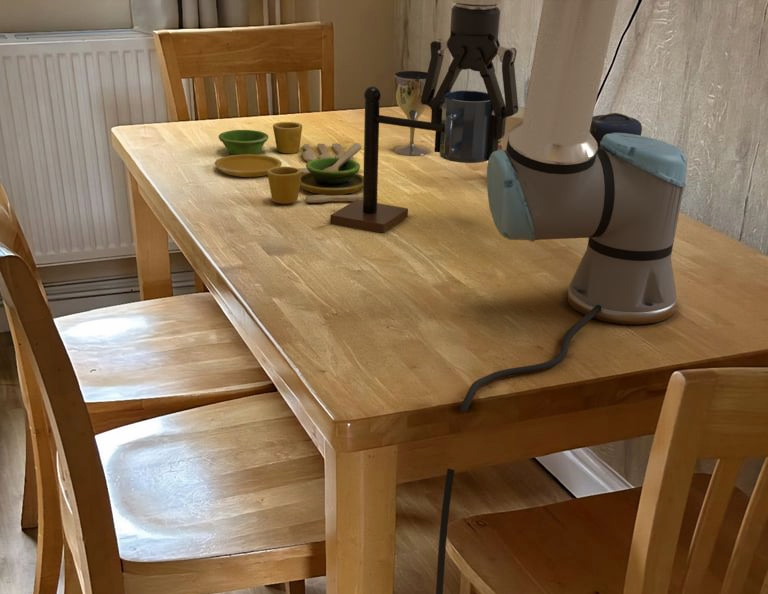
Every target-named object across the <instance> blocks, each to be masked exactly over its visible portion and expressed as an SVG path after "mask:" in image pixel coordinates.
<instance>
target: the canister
mask: <svg viewBox="0 0 768 594" xmlns="http://www.w3.org/2000/svg"><path fill="white" fill-rule="evenodd" d="M589 132H590V133H591V135H592V136H593V137H594V139H595V140H596V142H597V144H598V148H601V145H600V142H601V141H602V139H603V137H604V136H605V135H606V134H611V133H627V134H634V135H640V136H642V133H643V125H642V123H641V122H640V120H638V119H636V118H634V117H630V116H629V115H626V114H624V113H618V112H611V113H607V114H598V115H593V117H592V122H591V127H590V131H589Z"/></svg>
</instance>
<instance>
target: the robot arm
mask: <svg viewBox="0 0 768 594" xmlns="http://www.w3.org/2000/svg"><path fill="white" fill-rule="evenodd" d="M451 1H452V2H453V3H454V5H453V6H452V8H451V14H450V34H449V37H448V39H447V40H443V39H442V38H441V39H440V38H439V39H436V40H433V41H431V42H430V44H429V45H430V61H429V63H428V68H427V71H426V72H427V77H426V81H425V85H424V89H423V93H422V98H421V103H422V104H423V105H425V104H426V105H427V106H428V108H430V109H431V110H430V111H431V114H430V115H431V116H430V122H432V123H439V124H441V119H442V102H443V94H446V93H448V92H450V91H452V88H453V87H454V85H455V83H456V81H457V79H458V77H459V75H460V73H461V72H462V71H465V70H471V71H474V72H478V73H479V75H480V77H481V78H482V80H483V84H484V87H485V89H486V93H488V96H489V99H490V101H492V102H491V105H492V108H493V111H494V114H495V117H493V118H491V119H490V130H489V142H488V154H487V160H488V161H487V165H486V191H487V192H486V193H487V199H488V204H489V209H490V215H491V217H492V221H493V223H494V226H495V228H496V230H497V231H498V232H499V234H500V235H501V236H502V237H503V238H504V239H507V240H509V241H528V242H530V243H531V242H533V243H535V241H544V240H567V239H569V240H570V239H587V238H588V240H587V247H586V250H585V252H584V254H583V256H582V258H581V261H580V262H579V264H578V266H577V268H576V271H575V272H574V275H573V277H572V279H571V281H570V283H569V286H568V293H567V303H568V304H569V305H570V306H571V308H573V309H574V310H575V311H576V312H578V313H580V314H582V315H584V316H583V317H582V318H580V320H578V321H577V322H576V323H574V324H573V326H571V327H570V328H569V329H568V331H567V332H566V333H565V335H563V336H564V337H563V338H562V340H561V345H560V348H559V352H558V353H557V354H556V355H555V357H553V358H551V359H550V360H547V361H545V362H541V363H537V364H532V365H524V366H518V367H512V368H511V367H510V368H506V369H502V370H497V371H495V372H492V373H490V374H488V375H485V376H482V377H480V378H478V379H477V380H475V381H474V382H473V383H472V384H471V385H470V387H469V388H468V391H467V392H466V394H465V396H464V398H463V401H462V403H461V405H460V408H459V411H460V412H462V413H465V412H468V411H469V408H470V406H471V404H472V401H473V399H474V397H475V395H476V394H477V391H478V390H479V389H480V388H482V387H484V386H486V385H487V384H490V383H491V382H494V381H496V380H499V379H504V378H507V377H508V378H509V377H512V376H513V377H514V376H519V375H525V374H533V373H538V372H542V371H545V370H548V369H551V368H553V367H555V366H557V365H559V364H560V363H561V362H562V361H563V360H564V359H565V357H566V356H567V353H568V351H569V344H570V341H571V340H572V338H573V336H574V335H576V333H577V332H578V331H580V330H581V329H582V328H583V327H584V326H585V325H586V324H588V323H589V322H590V321H591V320H592V319H595V320H598V321H602V322H607V323H613V324H621V325H648V324H649V325H650V324H654V323H659V322H663V321H665V320H667V319H669V318H671V317H672V315H673V314H674V313H675V310H676V305H677V298H678V297H677V289H676V283H675V275H674V269H673V263H672V253H673V248H674V243H675V237H676V232H677V227H678V223H679V222H678V221H679V215H680V212H681V211H680V210H681V206H682V200H683V195H684V189H685V188H686V178H687V170H688V169H687V168H688V159H687V155H686V154H685V152H684V151H683V150H682V149H680V148H679V147H677V146H675V145H673V144H671V143H669V142H666V141H663V140H661V139H657V138H653V137H649V136H644V135H641V136H640V135H634V134H627V133H611V134H606V135H605V136H604V137H603V139H602V141H601V142H600V145H601V148H598V144H597V142H596V140H595V139H594V137H593V136H592V135H591V133H590V132H589V131H590V127H591V122H592V117H594V112H595V108H596V104H597V98H598V96H599V95H598V94H599V90H600V85H601V79H602V75H603V71H604V68H605V67H604V66H605V62H606V61H605V60H606V58H607V53H608V48H609V43H610V39H611V35H612V30H613V24H614V20H615V16H616V11H617V8H618V7H617V6H618V4H619V3H618V2H619V0H543V1H542V7H541V13H540V17H539V23H538V30H537V36H536V42H535V48H534V54H533V58H532V65H531V70H530V76H529V83H528V88H527V93H526V99H525V106H524V107H525V111H524V117H523V122H521V123H520V124H518V125H517V126H515V127H514V128H512V129H511V131H510V132H509V136H508V142H507V148H506V150H505V151H504V150H500V149H499V150H498V141H499V139H502V138H503V137H504V135H505V124H506V118H507V117H509V116H513V115H514V114H516V113H517V112H518V107H519V101H518V89H517V79H516V70H515V63H516V62H515V61H516V58H517V53H518V51H517V49H516V48H515V47H510V48H508V47H505V46H502V45H501V44H500V41H499V31H500V20H501V19H500V17H501V10H500V8H499V7H498V5H500V4H501V3H502V0H451ZM447 50H448V51H449V53H450V55H451V57H452V60H451V62H450V65H449V66H448V69H447V72H446V74H445V76H444V78H443V80H442V82H441V84H440V86H439V88H438V90H437V85H438V82H439V78H440V74H441V69H442V66H443V62H444V55H445V54H446V53H447ZM497 55H498V57H499V61H500V63H501V74H502V84H503V94H502V91H501V88H500V85H499V81H498V79H497V75H496V69H495V65H494V63H493V62H494V61H493V60H494V59H495V58H496V56H497ZM436 90H437V91H436ZM436 92H437V93H436ZM503 95H504V97H503ZM434 135H435V136H434V150H433V151H434V153H440V137H441V132H439V131H435V134H434ZM454 477H455V469H451V468H447V469H446V477H445V482H444V489H443V490H444V491H443V497H442V506H441V514H440V515H441V516H440V525H439V536H438V537H439V540H438V551H437V569H436V583H435V584H436V585H435V587H436V588H435V594H444V580H445V564H446V551H447V549H446V548H447V539H448V528H449V527H448V525H449V517H450V508H451V507H450V505H451V498H452V492H453V491H452V490H453V484H454Z"/></svg>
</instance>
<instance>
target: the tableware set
mask: <svg viewBox="0 0 768 594" xmlns="http://www.w3.org/2000/svg"><path fill="white" fill-rule="evenodd" d="M272 128H273V134H274V140H275V146H276V150H277V152H279V153H283V154H296V153H297V152H299V151H300V148H301V147H300V146H301V141H302V140H301V139H302V133H303V124H302V123H300V122H294V121H280V122H276V123H273V125H272ZM218 139H219V141H220V142H221V143H222V144H223V146H224V147H225V149H226V150H227V152H228V153H229V154H230V155H227V156H222V157H220V158H218V159H216V160H215V161H214V166H215V167H216V168H217V169H218V170H219V171H220V172H221V173H223V174H225V175H230V176H235V177H241V178H242V177H243V178H245V177H247V178H254V177H255V178H256V177H264V176H267V179H268V185H269V190H270V196H271V200H272V202H274V203H276V204H292V203H295V202H297V201H298V199H299V195H300V194H299V193H300V186H301V188H303V190H305V191H307V192H310V193H313V195H306V196H305V202H306V203H325V202H353V201H355V200H362V201H363V194H353V193H356V192H358V191H360V190H361V189H362V188H363V176H364V175H362V174H359V173H358V172H359V171H360V169H361V164H360V163H359V162H357V161H356V160H354V156H355V155H357V154H358V152H360V151H361V150H362V144H361V143H353V144H352V145H350V147H349V148H348V149H347V150H346V151H344V149H343V146H342V145H341V144H340V143H338V142H337V143H336V142H334V143H332V144H331V149H332V150H333V151H334V152H335V156H334V155H332V154H330V153H328V150H327V145H326V144H325V143H317V149H318V151H319V153H320V154H319V155H318V158H317V156H316V154H315V152H314V150H313V148H312V147H311V145H310V144H309V143H303V144H302V149H303V150H304V151H302V152H301V156H302V159H303V160H304V161H305V162H306V164H305V167H298V168H297V167H293V166H282V164H283V163H282V161H281V160H280V159H278V158H276V157H272V156H269V155H265V154H259V153H260V152H261V151H262V149H263V146H264V145H265V143H266V142H267V141H268V140H269V135H268V134H267V133H266V132H263V131H260V130H254V129H253V130H252V129H234V130H233V129H232V130H227V131H223V132H221V133H219V135H218Z"/></svg>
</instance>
